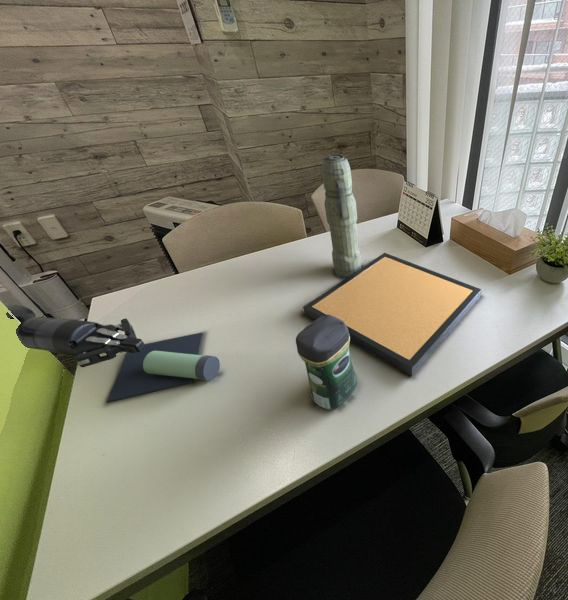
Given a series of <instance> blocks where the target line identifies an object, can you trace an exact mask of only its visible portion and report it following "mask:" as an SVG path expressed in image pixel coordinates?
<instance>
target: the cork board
mask: <svg viewBox="0 0 568 600" xmlns="http://www.w3.org/2000/svg"><path fill="white" fill-rule="evenodd" d="M482 292H483V289H482V288H479V287H476V286H473V285H471V284H468V283H466V282H463V281H461V280H458V279H456V278H452V277H450V276H447V275H444V274H442V273H440V272H438V271H437V272H436V271H435V270H432V269H429V268H426V267H423V266H421V265H418V264H415V263H413V262H410V261H407V260H405V259H403V258H400V257H397V256H394V255H392V254H390V253H386V252H383V253H382V254H380V255H379V256H377V257H375V258H374V259H372V260H371V261H370V262H368V263H366V264H365V265H364V266H361V269H359V270H358V271H356V272H355V273H353V274H352V275H350V276H349V277H347V278H343V279H342V280H341V281H340V282H338V283H336V284H335V285H334V286H332V287H331V288H329V289H327V290H326V291H325V292H323V293H322V294H320V295H319V296H316V297H315V298H314V299H312V300H311V301H309V302H307V303H306V304H305V305H303V306H302V309H303V314H304V316H306V317H308V318H310V319H311V320H313V321H315V320H316V319H318V318H320V317H322V316H325V315H327V314H329V315H332V316H335V317H337V318H339V319H340V320H342V321H343V322H344V323H345V324H346V326H347V328H348V332H349V335H350V342H351V343H353V344H355V345H356V346H357V347H360V348H362V349H363V350H365V351H367V352H369V353H370V354H371V355H374V356H375V357H378V359H381V360H382V361H384V362H386V363H387V364H389V365H391V366H393V367H395V368H397V369H398V370H400V371H402V372H404V373H405V374H406V375H409V377H413V376H414V375H415V373H416V372H417V371H418V370H419V369H420V368H421V367H422V365H423V364H424V363H425V362H426V361H427V360H428V359H429V358H430V357H431V355H432V354H433V353H434V352H435V351H436V350H437V348H438V347H439V346H440V345H441V343H443V341H444V340H445V339H446V338H447V337H448V336H449V334H450V333H451V332H452V331H453V330H454V329H455V327H457V325H458V324H459V323H460V322H461V321H462V320H463V318H464V317H465V316H466V315H467V313H469V311H470V310H471V309H472V308H473V307H474V305H475V304H476V303H477V302H478V301H479V299H480V298H481V297H482Z"/></svg>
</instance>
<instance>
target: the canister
mask: <svg viewBox="0 0 568 600" xmlns="http://www.w3.org/2000/svg"><path fill="white" fill-rule="evenodd" d="M220 367H221V362H220V359H219V357H218V356H216V355H207V354H206V355H203V354H199V355H193V354H183V353H174V352H164V351H152V352H150V353H149V354H147V356H146V357H145V359H144V361H143V369H144V371H145V372H146V373H149V374H158V375H167V376H176V377H185V378H194V380H195V379H196V380H199V381H212V380H214V379H215V378H216V377H217V376H218V373H219V371H220Z"/></svg>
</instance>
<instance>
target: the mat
mask: <svg viewBox="0 0 568 600" xmlns="http://www.w3.org/2000/svg"><path fill="white" fill-rule="evenodd" d="M203 336H204V333H203V332H198V333H193V334H188V335H182V336H177V337H174V338H168V339H163V340H158V341H153V342H149V343H144V344H145V348H144V349H143V350H142V351H141V352H136V353H129V352H126V355H125V358H124V359H123V362H122V365H121V367H120V369H119V372H118V374H117V376H116V378H115V380H114V383H113V386H112V387H111V390H110V392H109V395H108V397H107V399H106V402H107V403H108V404H110V403H113V402H118V401H122V400H123V401H124V400H126V399H131V398H135V397H139V396H143V395H147V394H151V393H156V392H160V391H164V390H168V389H172V388H177V387H181V386H186V385H189V384H193V383H194V381H195V379H194V378H185V377H176V376H167V375H158V374H149V373H146V372H145V371H144V369H143V361H144V359H145V357H146V356H147V354H149V353H150V352H152V351H164V352H174V353H183V354H193V355H200V352H201V347H202V341H203Z"/></svg>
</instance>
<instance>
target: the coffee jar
mask: <svg viewBox="0 0 568 600" xmlns="http://www.w3.org/2000/svg"><path fill="white" fill-rule="evenodd" d="M350 342H351V341H350V335H349V332H348V328H347V326H346V324H345V323H344V322H343V321H342V320H340V319H339V318H337V317H335V316H332V315H329V314H327V315H325V316H322V317H320V318H318V319H316V320H313V321H312V322H311V323H309V324H308V325H306V326H305V327H304V328H303V329H302V330H301V331H300V332H299V333H297V335H296V336H295V345H296V351H297V354H298V357H300V359H301V360H302V361H303V362H304V365H305V368H306V373H307V379H308V386H309V392H310V397H311V399H312V400H313V402H314V403H315V404H316V405H318V406H319V407H321V408H323V409H325V410H335V409H337V408H340V406H341V405H343V404H344V403H345V402H346V401H347V400H348V399H349V398H350V397H351V395H352V394H353V393H354V391H355V390H356V388H357V386H358V378H357V374H356V371H355V368H354V365H353V361H352V358H351V353H350Z"/></svg>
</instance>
